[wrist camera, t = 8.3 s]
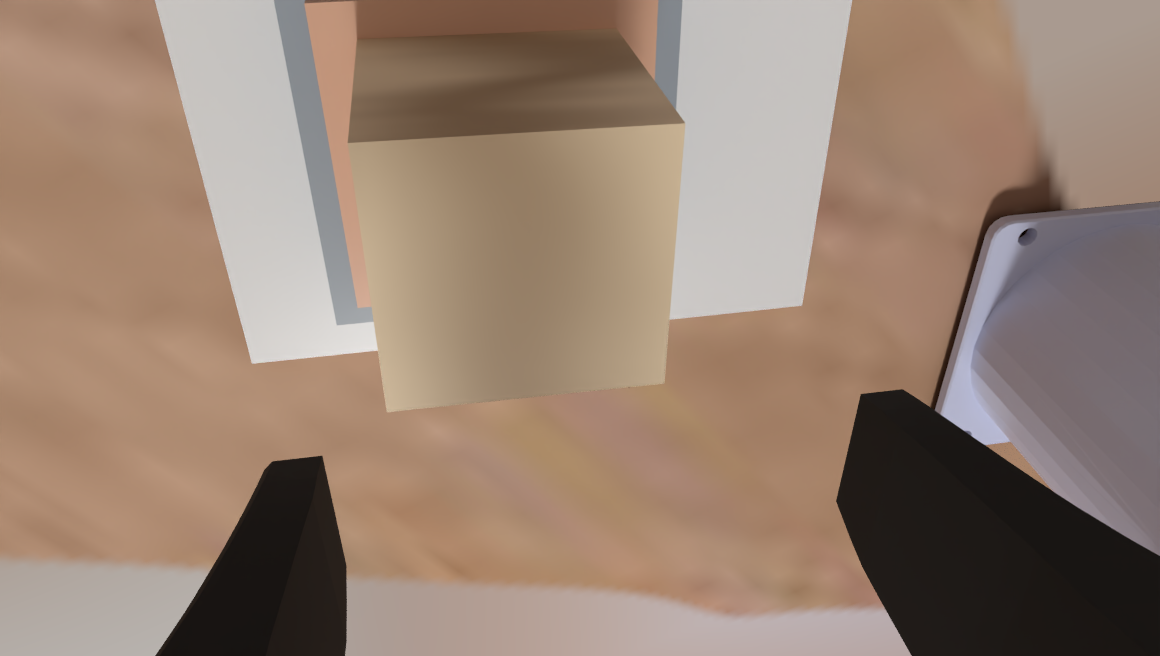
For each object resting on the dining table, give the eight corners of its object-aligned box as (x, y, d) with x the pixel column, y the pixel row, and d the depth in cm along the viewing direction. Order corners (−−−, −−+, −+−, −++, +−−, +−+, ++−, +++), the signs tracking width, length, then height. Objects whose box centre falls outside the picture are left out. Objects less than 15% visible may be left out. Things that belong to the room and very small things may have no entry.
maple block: (616, 28, 16) (685, 123, 12) (609, 249, 18) (664, 383, 15) (356, 39, 15) (347, 143, 11) (386, 267, 18) (386, 412, 14)
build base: (878, -232, 17) (965, -223, 15) (794, 295, 24) (844, 366, 21) (104, -220, 15) (45, -206, 13) (254, 351, 22) (236, 437, 19)
